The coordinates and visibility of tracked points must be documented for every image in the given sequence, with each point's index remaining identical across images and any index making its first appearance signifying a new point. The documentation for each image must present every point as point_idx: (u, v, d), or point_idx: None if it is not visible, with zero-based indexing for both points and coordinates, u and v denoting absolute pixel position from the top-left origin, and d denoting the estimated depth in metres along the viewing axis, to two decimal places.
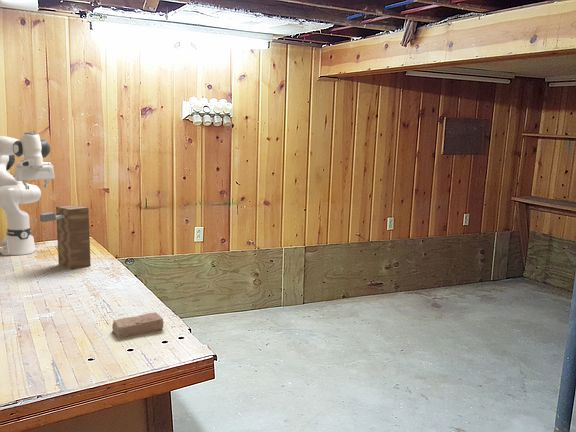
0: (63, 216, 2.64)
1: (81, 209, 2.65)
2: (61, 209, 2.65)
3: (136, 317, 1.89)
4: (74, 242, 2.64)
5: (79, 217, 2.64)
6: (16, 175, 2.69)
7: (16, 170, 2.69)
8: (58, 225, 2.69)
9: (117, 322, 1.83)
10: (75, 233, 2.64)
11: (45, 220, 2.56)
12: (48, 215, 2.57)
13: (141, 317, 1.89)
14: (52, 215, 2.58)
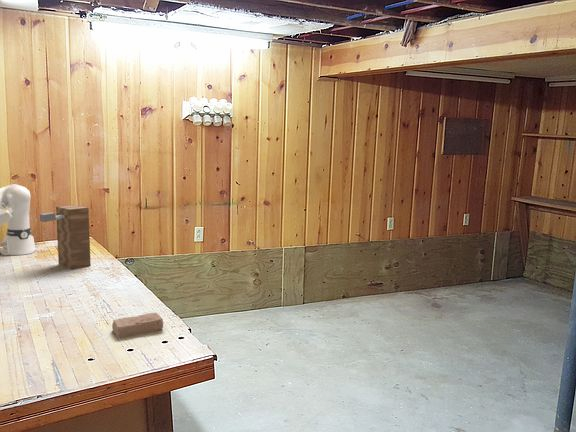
0: (63, 216, 2.64)
1: (81, 209, 2.65)
2: (61, 209, 2.65)
3: (136, 317, 1.89)
4: (74, 242, 2.64)
5: (79, 217, 2.64)
6: (4, 216, 2.33)
7: None
8: (58, 225, 2.69)
9: (117, 322, 1.83)
10: (75, 233, 2.64)
11: (45, 220, 2.56)
12: (48, 215, 2.57)
13: (141, 317, 1.89)
14: (52, 215, 2.58)
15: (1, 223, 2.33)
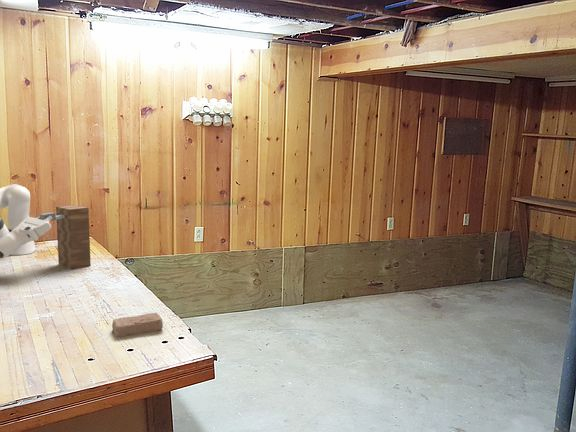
0: (63, 216, 2.64)
1: (81, 209, 2.65)
2: (61, 209, 2.65)
3: (136, 317, 1.89)
4: (74, 242, 2.64)
5: (79, 217, 2.64)
6: (45, 226, 2.48)
7: (40, 230, 2.47)
8: (58, 225, 2.69)
9: (116, 321, 1.84)
10: (75, 233, 2.64)
11: None
12: (48, 215, 2.57)
13: (141, 317, 1.89)
14: (52, 215, 2.58)
15: (42, 233, 2.48)
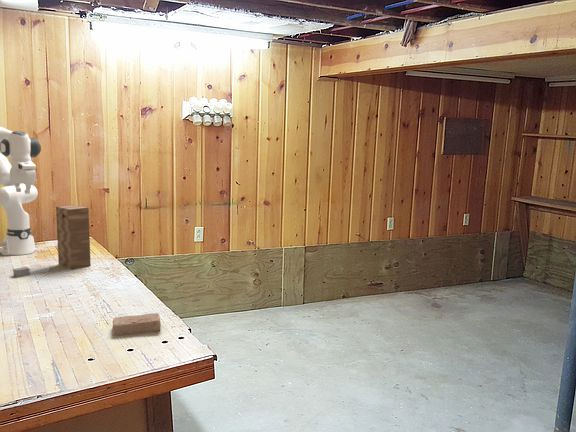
0: (38, 271, 2.57)
1: (81, 209, 2.65)
2: (61, 209, 2.65)
3: (137, 316, 1.90)
4: (74, 242, 2.64)
5: (79, 217, 2.64)
6: (32, 178, 2.50)
7: (31, 173, 2.50)
8: (58, 225, 2.69)
9: (115, 319, 1.85)
10: (75, 233, 2.64)
11: (18, 276, 2.49)
12: (22, 270, 2.50)
13: (141, 317, 1.89)
14: (26, 270, 2.51)
15: (27, 173, 2.49)
